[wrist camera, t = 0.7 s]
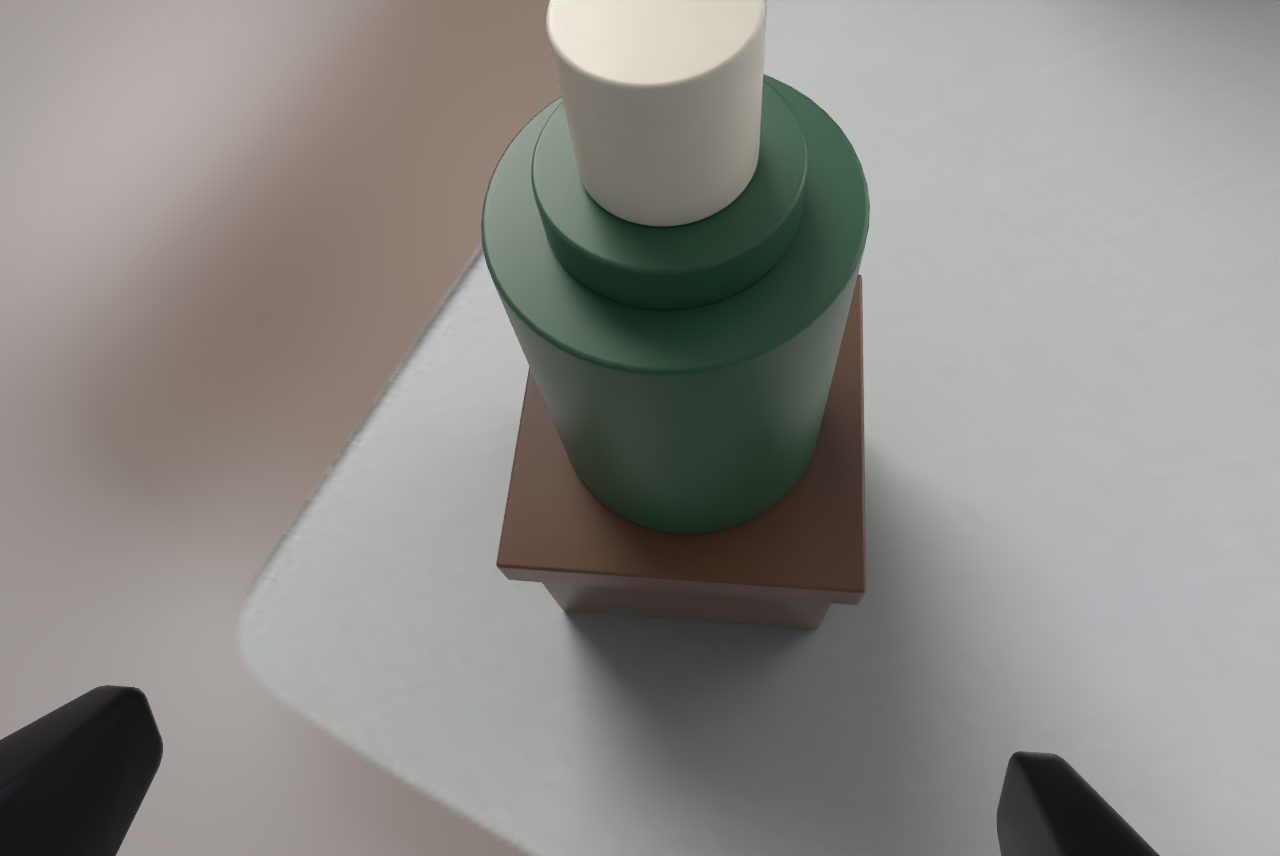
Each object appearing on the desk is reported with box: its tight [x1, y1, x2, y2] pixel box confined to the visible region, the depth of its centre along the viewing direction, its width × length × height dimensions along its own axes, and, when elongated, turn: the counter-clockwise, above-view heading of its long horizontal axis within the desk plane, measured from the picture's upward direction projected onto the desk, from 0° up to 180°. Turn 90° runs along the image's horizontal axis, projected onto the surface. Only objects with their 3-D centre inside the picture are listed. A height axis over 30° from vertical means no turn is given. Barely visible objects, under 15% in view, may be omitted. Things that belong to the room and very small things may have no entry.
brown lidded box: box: [496, 275, 866, 629], centre depth 23 cm, size 8×8×6 cm
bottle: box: [481, 0, 870, 534], centre depth 15 cm, size 6×6×11 cm
